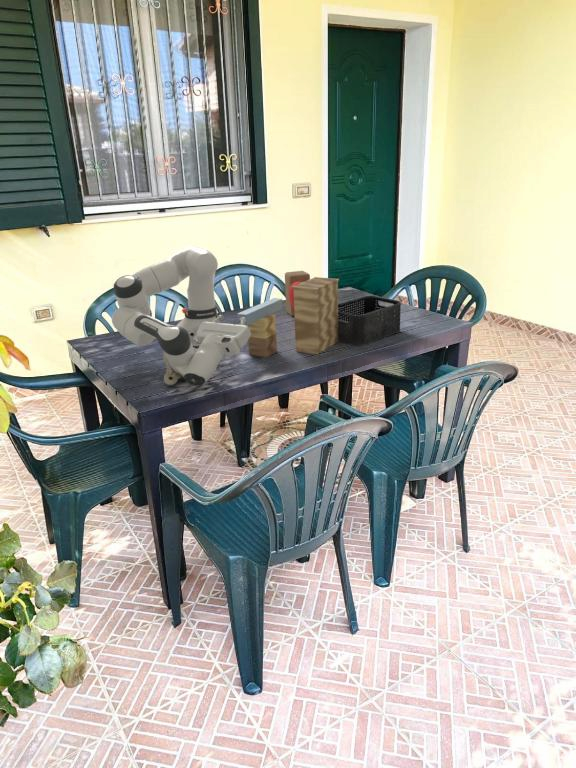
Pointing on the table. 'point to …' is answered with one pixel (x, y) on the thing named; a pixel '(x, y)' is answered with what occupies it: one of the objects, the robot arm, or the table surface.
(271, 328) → the block
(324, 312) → the oak stand
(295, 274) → the block
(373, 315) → the storage bin
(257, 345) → the walnut block
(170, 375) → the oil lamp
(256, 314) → the blue bar
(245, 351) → the table surface
